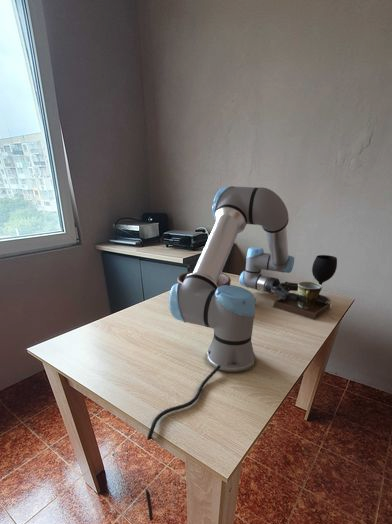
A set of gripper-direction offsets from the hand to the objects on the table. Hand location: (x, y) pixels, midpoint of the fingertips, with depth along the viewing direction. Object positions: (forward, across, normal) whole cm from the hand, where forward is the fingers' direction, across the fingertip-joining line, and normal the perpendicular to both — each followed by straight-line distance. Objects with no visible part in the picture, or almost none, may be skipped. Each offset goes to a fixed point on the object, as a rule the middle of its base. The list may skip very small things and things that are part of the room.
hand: (312, 296), depth 126 cm
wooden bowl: (-43, +23, -6) cm, 49 cm away
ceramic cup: (-2, 0, -6) cm, 6 cm away
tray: (-4, 0, -7) cm, 8 cm away
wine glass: (-4, -17, -7) cm, 19 cm away
